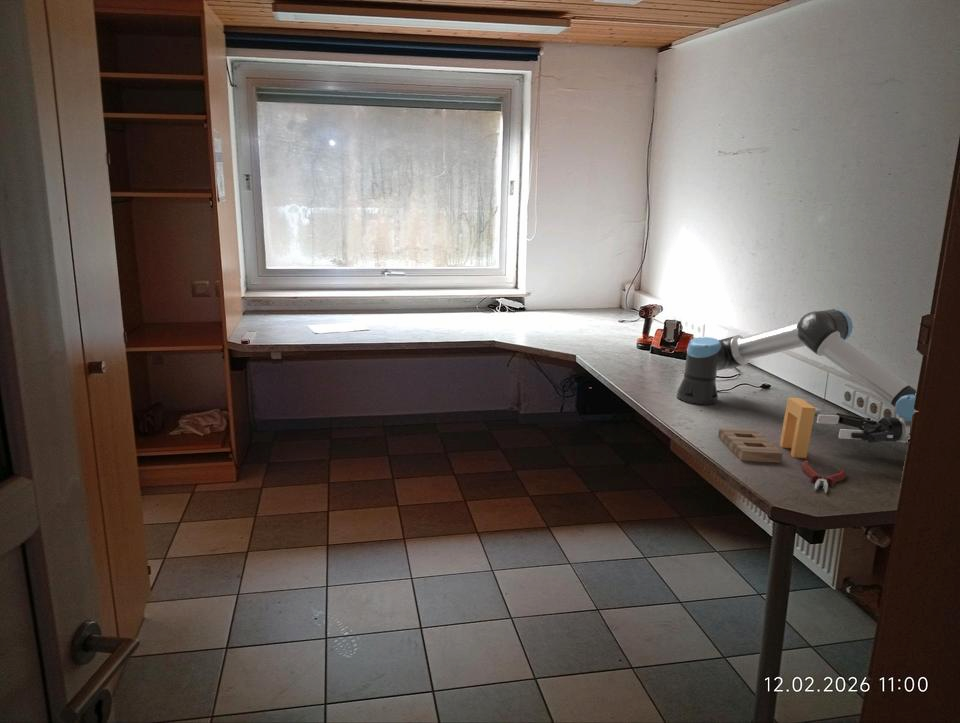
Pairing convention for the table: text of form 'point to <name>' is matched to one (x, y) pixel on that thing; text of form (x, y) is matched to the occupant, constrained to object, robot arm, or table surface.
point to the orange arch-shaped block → (797, 427)
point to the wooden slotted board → (749, 445)
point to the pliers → (827, 479)
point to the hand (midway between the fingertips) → (828, 426)
